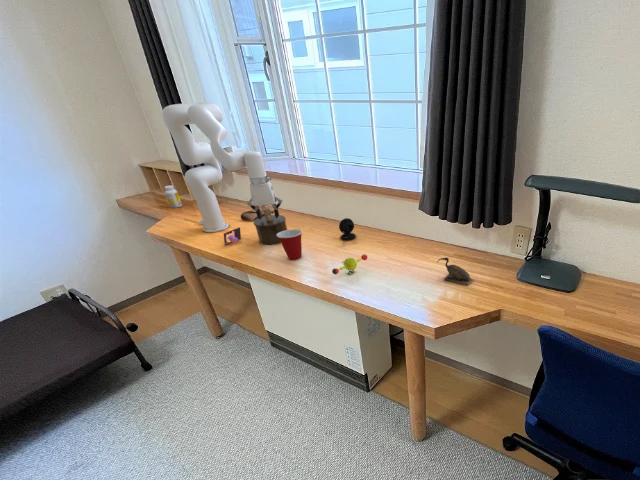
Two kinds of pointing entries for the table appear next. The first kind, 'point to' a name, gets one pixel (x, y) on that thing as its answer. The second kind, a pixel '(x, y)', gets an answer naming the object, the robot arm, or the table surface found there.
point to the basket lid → (269, 219)
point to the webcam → (347, 229)
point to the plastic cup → (291, 243)
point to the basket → (270, 233)
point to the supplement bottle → (173, 197)
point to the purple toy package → (233, 238)
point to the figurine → (456, 274)
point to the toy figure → (349, 264)
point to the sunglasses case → (253, 214)
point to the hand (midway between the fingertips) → (268, 217)
